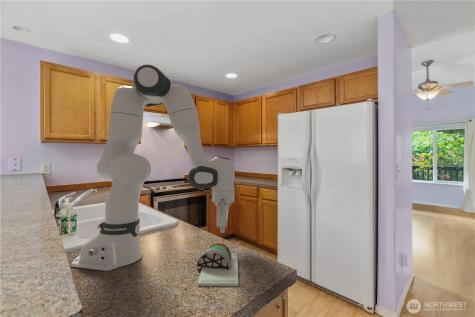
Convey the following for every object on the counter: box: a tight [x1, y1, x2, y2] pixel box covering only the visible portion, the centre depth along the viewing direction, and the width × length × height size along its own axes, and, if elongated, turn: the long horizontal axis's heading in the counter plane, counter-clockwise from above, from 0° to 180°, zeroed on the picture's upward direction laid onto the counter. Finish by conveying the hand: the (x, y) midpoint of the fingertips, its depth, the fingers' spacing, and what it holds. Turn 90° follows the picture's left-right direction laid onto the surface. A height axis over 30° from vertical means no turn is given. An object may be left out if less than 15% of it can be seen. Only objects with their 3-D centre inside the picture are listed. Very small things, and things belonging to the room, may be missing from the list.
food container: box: [195, 242, 232, 270], centre depth 79 cm, size 12×6×10 cm
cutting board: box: [197, 254, 239, 287], centre depth 76 cm, size 12×19×1 cm, turn 1°
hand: (222, 231), depth 90 cm, fingers closed
